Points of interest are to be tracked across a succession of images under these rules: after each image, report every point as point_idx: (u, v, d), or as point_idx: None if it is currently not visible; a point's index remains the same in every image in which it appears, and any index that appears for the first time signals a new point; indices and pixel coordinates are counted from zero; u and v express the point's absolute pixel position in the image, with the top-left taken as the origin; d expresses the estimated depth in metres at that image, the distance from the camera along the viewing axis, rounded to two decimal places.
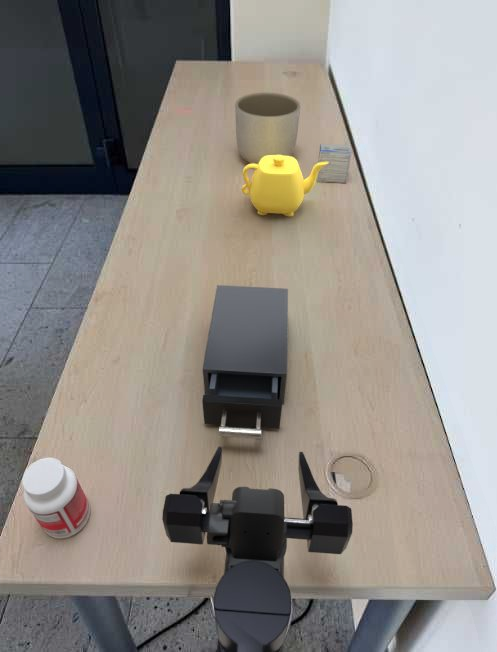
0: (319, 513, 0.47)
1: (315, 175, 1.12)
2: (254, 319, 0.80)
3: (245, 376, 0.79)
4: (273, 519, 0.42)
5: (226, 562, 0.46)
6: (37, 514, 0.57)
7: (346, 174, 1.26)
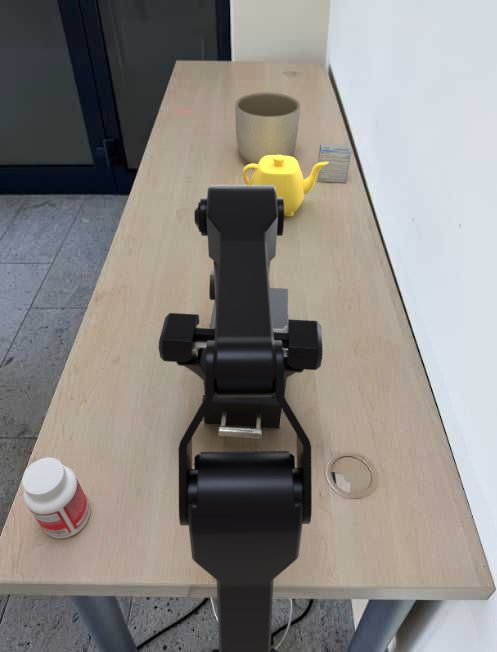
0: None
1: (315, 175, 1.12)
2: None
3: None
4: None
5: None
6: (37, 514, 0.57)
7: (346, 174, 1.26)
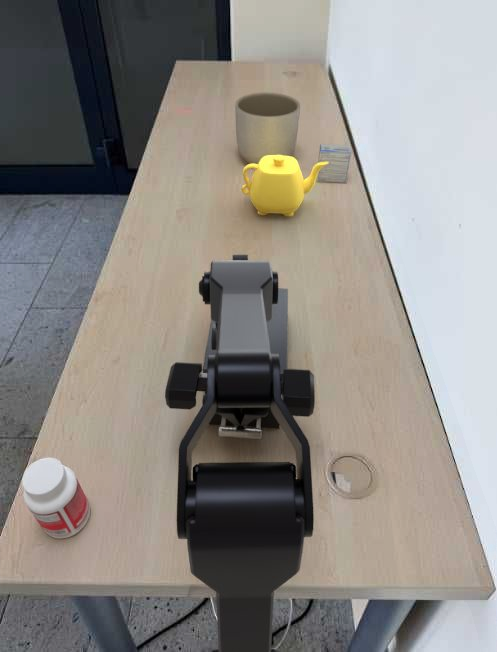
0: None
1: (315, 175, 1.12)
2: None
3: None
4: None
5: None
6: (37, 514, 0.57)
7: (346, 174, 1.26)
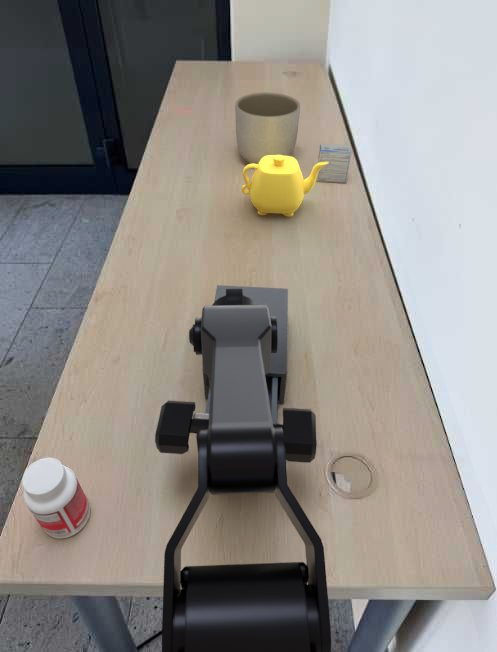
0: None
1: (315, 175, 1.12)
2: None
3: None
4: None
5: None
6: (37, 514, 0.57)
7: (346, 174, 1.26)
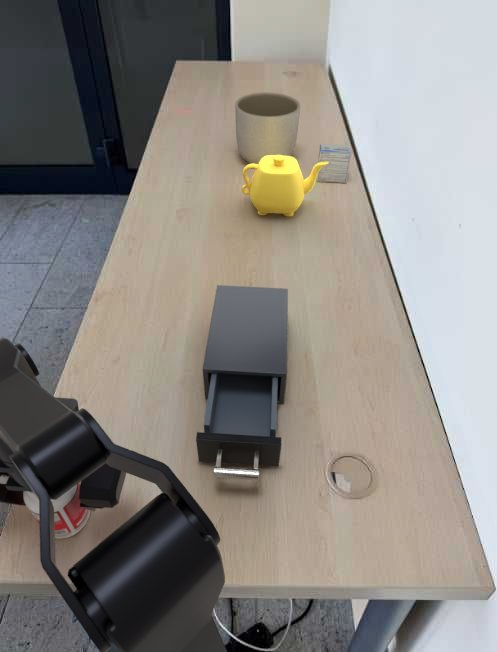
0: None
1: (315, 175, 1.12)
2: (254, 319, 0.80)
3: (242, 408, 0.74)
4: (70, 401, 0.59)
5: None
6: (37, 514, 0.57)
7: (346, 174, 1.26)
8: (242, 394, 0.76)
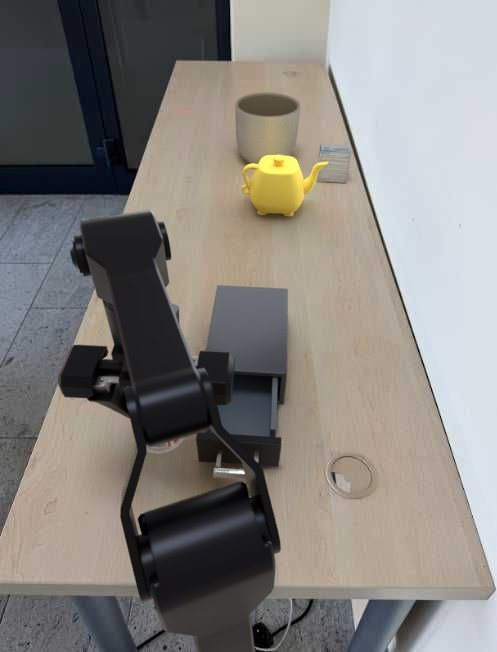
0: None
1: (315, 175, 1.12)
2: (254, 319, 0.80)
3: (242, 408, 0.74)
4: None
5: None
6: None
7: (346, 174, 1.26)
8: (242, 394, 0.76)
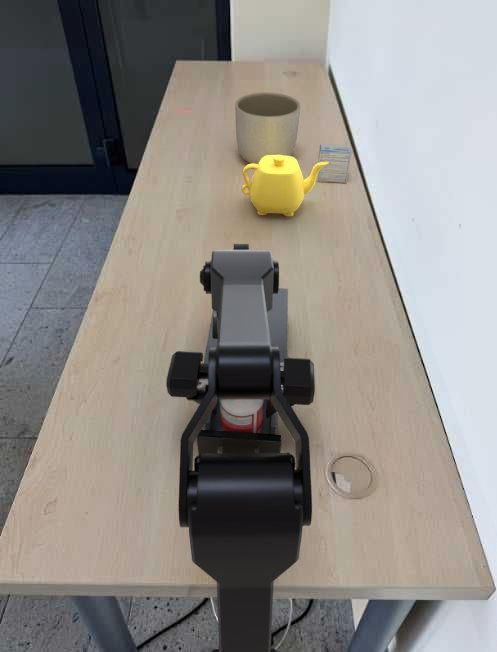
0: None
1: (315, 175, 1.12)
2: None
3: None
4: None
5: None
6: (235, 416, 0.64)
7: (346, 174, 1.26)
8: None
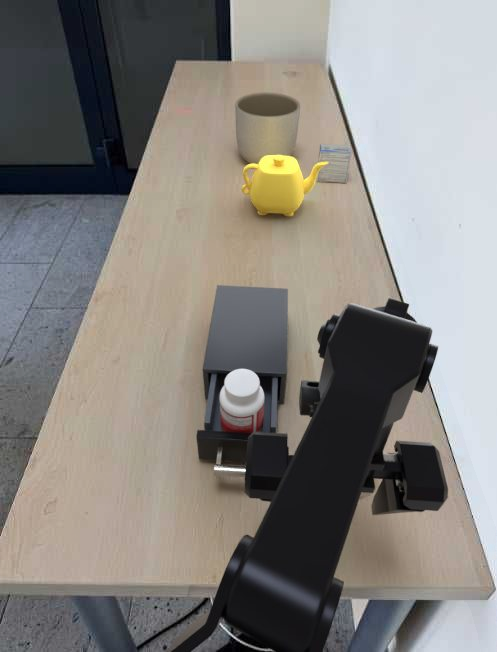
0: None
1: (315, 175, 1.12)
2: (254, 319, 0.80)
3: None
4: None
5: None
6: (235, 417, 0.64)
7: (346, 174, 1.26)
8: None
